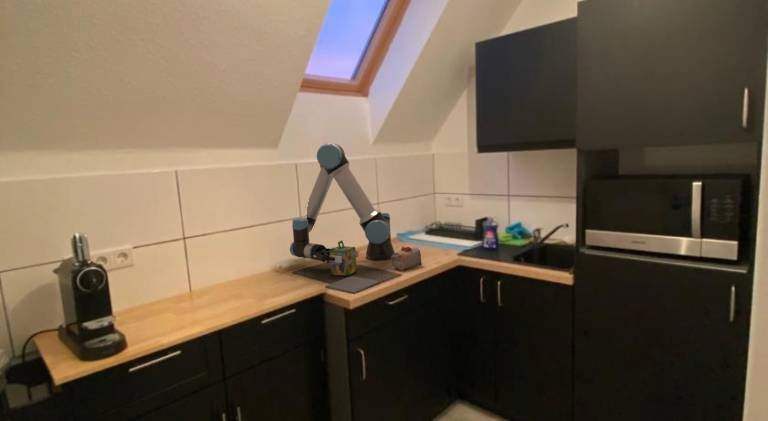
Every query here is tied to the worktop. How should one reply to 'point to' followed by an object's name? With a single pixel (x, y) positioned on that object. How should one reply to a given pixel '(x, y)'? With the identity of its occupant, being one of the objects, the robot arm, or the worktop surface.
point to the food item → (406, 258)
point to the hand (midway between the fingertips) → (349, 256)
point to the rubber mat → (352, 284)
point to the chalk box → (343, 260)
